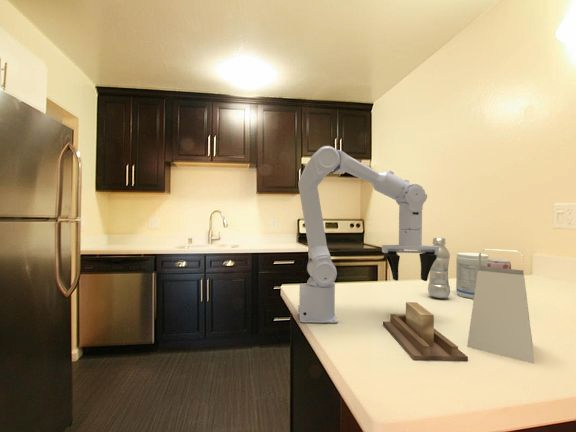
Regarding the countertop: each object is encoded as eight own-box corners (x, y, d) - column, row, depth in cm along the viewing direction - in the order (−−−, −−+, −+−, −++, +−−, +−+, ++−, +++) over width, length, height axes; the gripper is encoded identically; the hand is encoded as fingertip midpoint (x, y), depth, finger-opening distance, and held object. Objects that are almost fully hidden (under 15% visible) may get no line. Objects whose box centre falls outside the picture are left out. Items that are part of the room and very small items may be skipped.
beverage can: (500, 315, 80) (500, 261, 80) (481, 309, 85) (482, 258, 85) (516, 314, 81) (516, 260, 81) (496, 308, 87) (496, 258, 87)
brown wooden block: (420, 344, 59) (420, 314, 59) (405, 327, 68) (405, 302, 68) (433, 345, 58) (434, 315, 58) (416, 328, 67) (417, 302, 67)
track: (413, 360, 54) (413, 345, 54) (382, 324, 72) (382, 314, 72) (467, 361, 54) (467, 346, 54) (423, 325, 72) (423, 314, 72)
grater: (474, 332, 68) (474, 246, 68) (532, 344, 61) (533, 250, 61) (467, 346, 60) (467, 249, 60) (533, 363, 53) (534, 254, 53)
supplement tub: (462, 291, 107) (462, 251, 107) (492, 297, 100) (493, 254, 100) (451, 295, 101) (451, 253, 101) (483, 301, 94) (483, 256, 94)
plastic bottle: (453, 301, 94) (453, 239, 94) (430, 299, 95) (431, 238, 95) (446, 296, 100) (446, 238, 100) (425, 294, 101) (425, 237, 101)
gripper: (430, 229, 82) (429, 277, 82) (378, 228, 82) (378, 276, 82) (443, 230, 75) (442, 282, 75) (386, 229, 75) (386, 282, 75)
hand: (409, 280), depth 78 cm, fingers open, 7 cm apart
